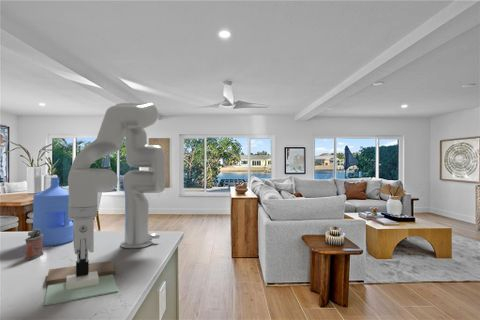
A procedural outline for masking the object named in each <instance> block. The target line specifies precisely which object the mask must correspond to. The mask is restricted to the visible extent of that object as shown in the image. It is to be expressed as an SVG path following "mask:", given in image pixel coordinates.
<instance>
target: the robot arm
mask: <svg viewBox="0 0 480 320" xmlns="http://www.w3.org/2000/svg"><path fill="white" fill-rule="evenodd" d="M158 114H159V113H158V108H157V107H156V105H155V104H154V103H152V102H120V103H116V104H115V105H111V106H110V107H108V108H107V109H106V111H105V114H104V117H103V119H102V121H101V124H100V127H99V130H98V133H97V137H96V139H94V140H93V141H91V142H90V143H89V144H88V145H86V146H85V147H84V148H83V149H81V150H80V152H78V154H77V155H76V156H75V157H74V160H73V161H72V164H71V167H70V169H69V173H68V176H67V183H68V191H69V201H68V206H69V207H68V218H69V219H72V222H73V240H72V241H73V251H74V254H75V255H76V256H77V258H76V259H77V260H76V261H75V266H76V276H77V277H78V276H85V275H88V274H89V264H90V263H89V253H94V251H95V246H94V245H95V243H94V242H95V241H94V240H95V222H94V219H95V218H96V217H98V201H99V200H98V199H99V198H98V197H99V196H98V193H110V192H112V191H114V189H115V188H116V187H117V185H118V180H119V178H118V175H117V174H116V172H115V171H114V170H112V169H109V168H90V166H91V165H92V164H94V163H95V162H96V161H97V160H99V159H101V158H103V157H106V156H109V155H111V154H114V153H116V152H118V151H121V149H122V147H123V145H124V141H125V158H126V159H125V160H126V163H127V165H128V166H129V167H133V168H150V169H152V170H141V169H140V170H129V171H127V172H126V173H125V174H124V175H123V178H122V185H123V191H124V240H123V241H121V242H120V247H121V248H125V249H140V248H146V247H149V246H151V245H152V243H153V240H155V239H160V237H161V235H160V233H150V232H149V216H150V214H149V211H150V210H149V207H150V206H149V200H148V199H147V196H146V195H145V194H160V193H162V192H164V191H165V190H166V189H165V188H166V183H167V181H166V176H167V175H166V154H165V150H164V148H163V147H162V146H160V145H156V144H148V138H147V136H148V135H147V131H146V130H145V129H147V128H148V127H150V126H152V125H154V124H155V123H156V122H157V120H158V116H159V115H158Z"/></svg>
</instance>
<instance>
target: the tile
mask: <svg viewBox="0 0 480 320" xmlns="http://www.w3.org/2000/svg"><path fill="white" fill-rule="evenodd" d="M97 284H99V277H98V273H97V271H94V272H89V274H88V275H85V276H78V277H77V276H76V274H75V275H69V276H67V279H66V290H69V289H75V288H80V287H86V286H91V285H97Z"/></svg>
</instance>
